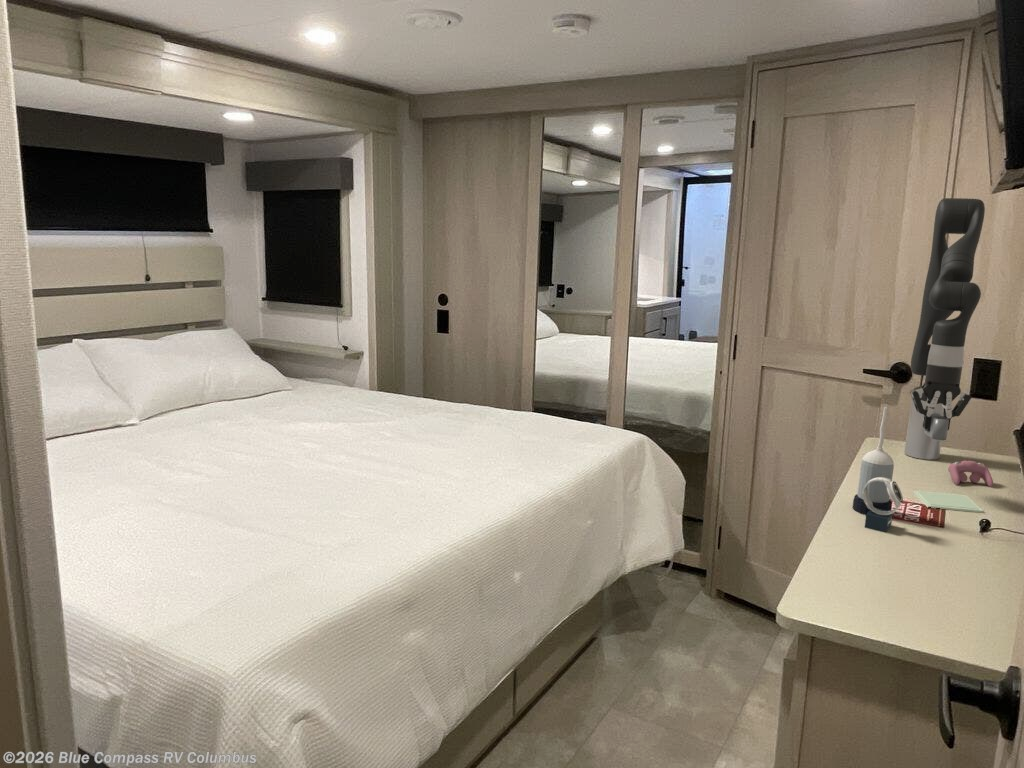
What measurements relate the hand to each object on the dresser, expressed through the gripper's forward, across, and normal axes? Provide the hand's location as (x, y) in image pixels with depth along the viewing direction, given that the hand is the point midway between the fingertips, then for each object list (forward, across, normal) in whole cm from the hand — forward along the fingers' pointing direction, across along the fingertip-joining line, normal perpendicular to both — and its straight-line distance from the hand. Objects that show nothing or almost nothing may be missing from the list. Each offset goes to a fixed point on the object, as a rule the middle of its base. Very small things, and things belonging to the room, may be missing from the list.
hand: (935, 431), depth 185 cm
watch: (+17, +18, +29) cm, 38 cm away
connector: (+1, 0, -1) cm, 2 cm away
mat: (+16, -3, +7) cm, 18 cm away
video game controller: (+16, -14, -11) cm, 24 cm away
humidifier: (+17, +17, +19) cm, 30 cm away
